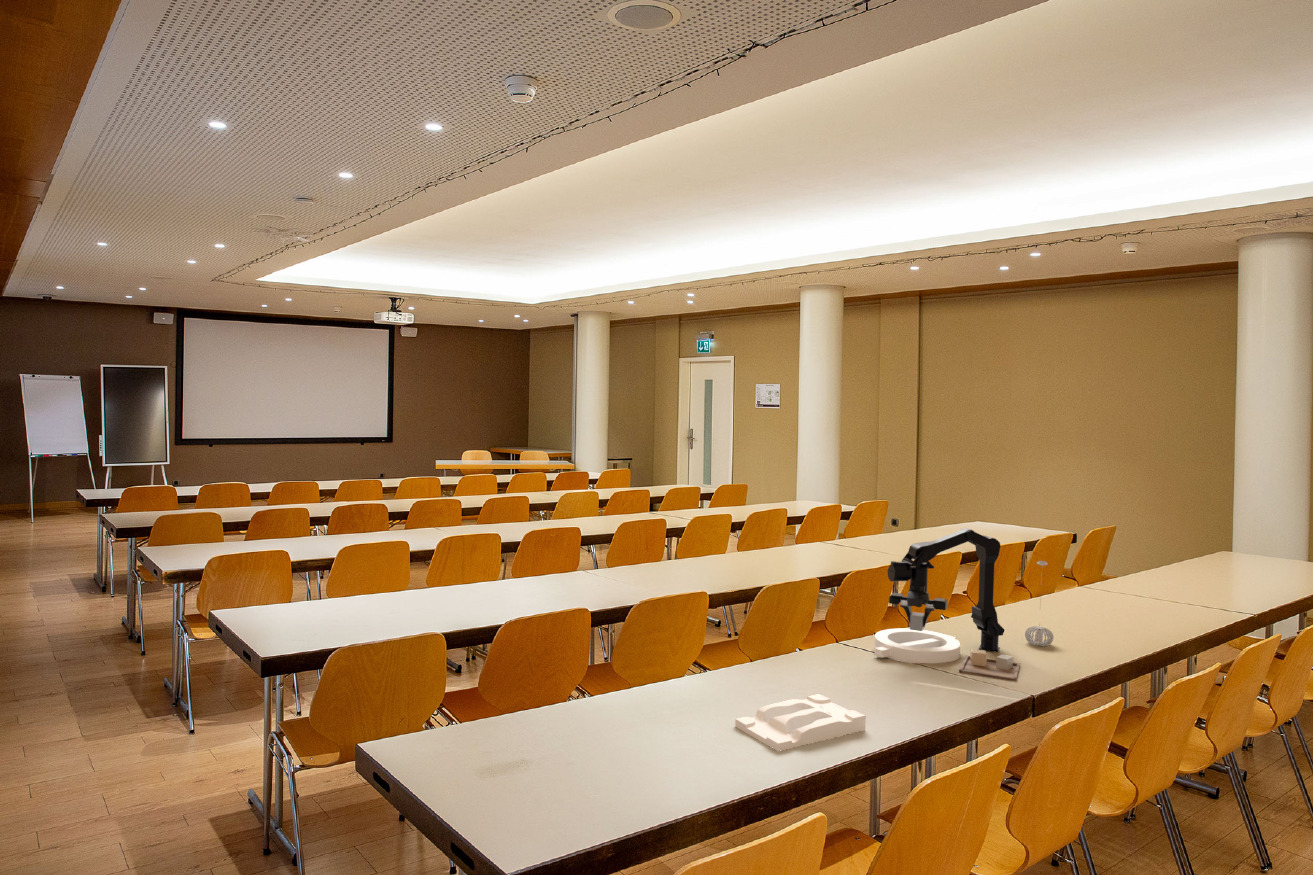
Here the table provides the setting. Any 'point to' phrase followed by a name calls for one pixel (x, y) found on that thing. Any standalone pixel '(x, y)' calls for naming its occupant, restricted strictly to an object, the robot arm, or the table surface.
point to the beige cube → (1004, 662)
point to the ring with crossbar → (916, 646)
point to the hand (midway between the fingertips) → (917, 625)
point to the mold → (801, 722)
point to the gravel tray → (989, 670)
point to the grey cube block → (916, 621)
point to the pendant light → (1039, 628)
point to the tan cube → (978, 657)
